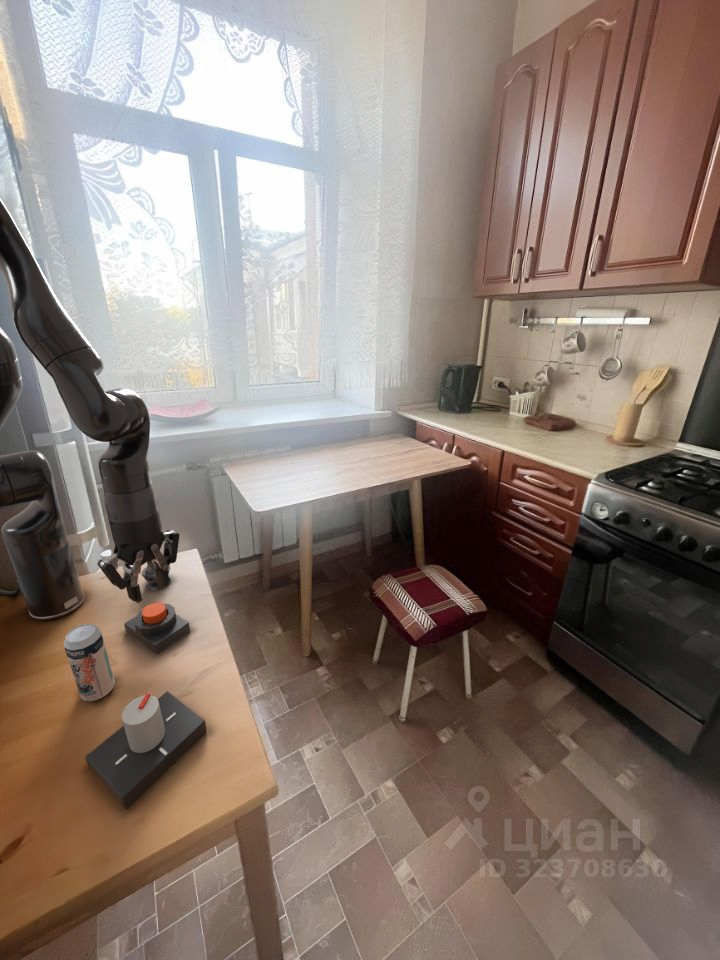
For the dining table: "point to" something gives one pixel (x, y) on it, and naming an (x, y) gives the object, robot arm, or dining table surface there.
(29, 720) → the dining table surface
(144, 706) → the timer knob
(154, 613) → the button
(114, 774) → the timer panel
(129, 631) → the button block
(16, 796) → the dining table surface
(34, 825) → the dining table surface
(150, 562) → the dark grey stone stupa
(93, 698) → the beer can
